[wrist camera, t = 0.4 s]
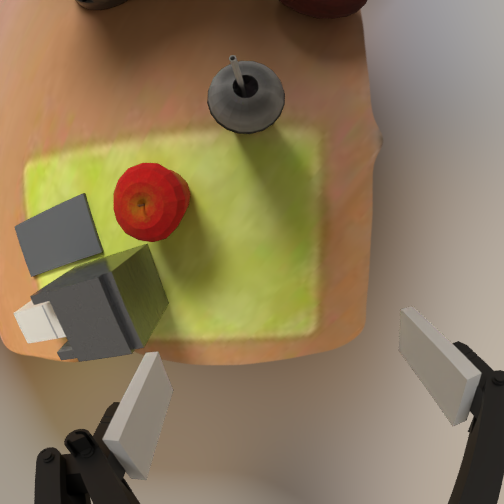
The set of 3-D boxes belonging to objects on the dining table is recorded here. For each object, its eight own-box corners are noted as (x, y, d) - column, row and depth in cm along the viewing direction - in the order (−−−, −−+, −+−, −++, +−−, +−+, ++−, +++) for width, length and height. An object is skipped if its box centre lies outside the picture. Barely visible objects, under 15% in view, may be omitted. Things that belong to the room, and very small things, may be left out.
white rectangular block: (47, 289, 43) (13, 313, 34) (110, 269, 43) (78, 295, 33) (58, 315, 45) (27, 343, 35) (122, 300, 44) (95, 331, 34)
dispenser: (75, 266, 42) (25, 299, 29) (147, 243, 42) (107, 274, 29) (97, 319, 45) (57, 364, 32) (168, 303, 44) (141, 352, 31)
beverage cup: (245, 156, 39) (242, 140, 19) (207, 117, 37) (169, 71, 18) (286, 119, 37) (320, 74, 18) (248, 81, 36) (247, 8, 17)
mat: (16, 225, 40) (14, 226, 40) (84, 193, 40) (83, 193, 39) (33, 275, 43) (31, 276, 42) (103, 251, 42) (101, 252, 41)
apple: (140, 162, 39) (101, 161, 27) (200, 166, 39) (181, 164, 28) (136, 224, 41) (98, 244, 29) (194, 230, 41) (174, 253, 30)
